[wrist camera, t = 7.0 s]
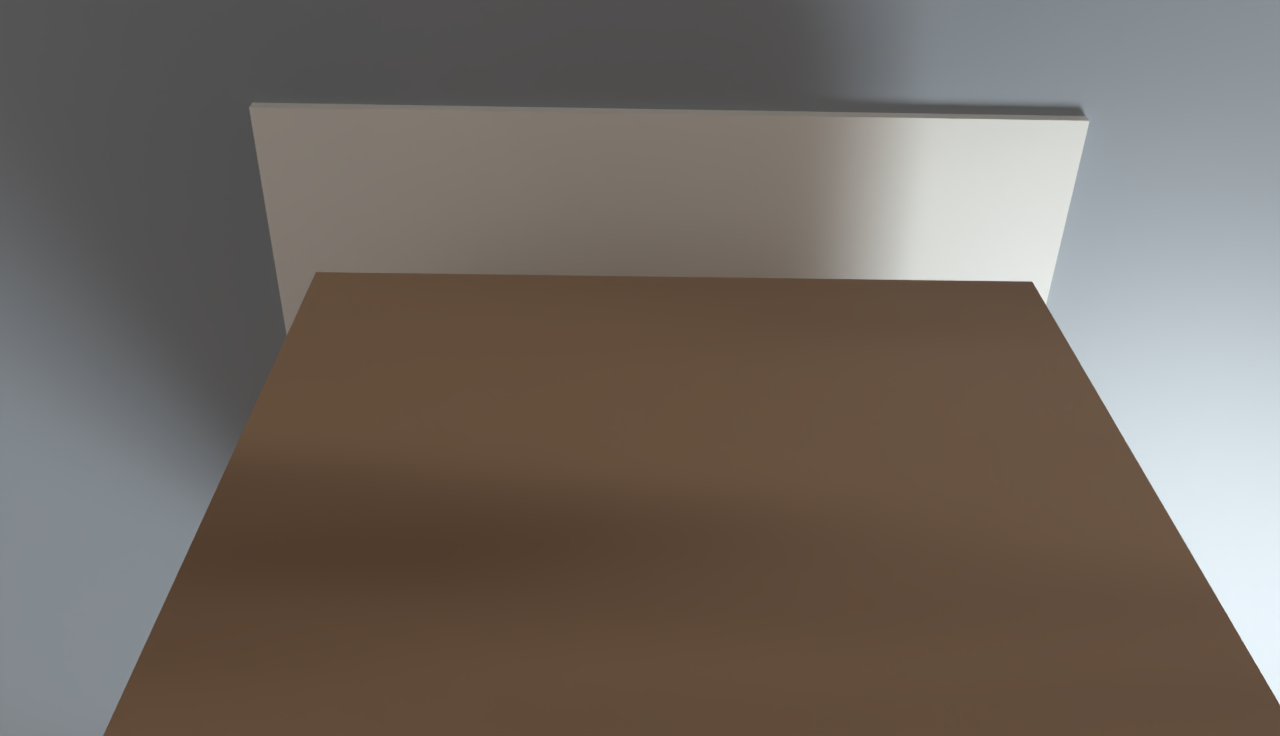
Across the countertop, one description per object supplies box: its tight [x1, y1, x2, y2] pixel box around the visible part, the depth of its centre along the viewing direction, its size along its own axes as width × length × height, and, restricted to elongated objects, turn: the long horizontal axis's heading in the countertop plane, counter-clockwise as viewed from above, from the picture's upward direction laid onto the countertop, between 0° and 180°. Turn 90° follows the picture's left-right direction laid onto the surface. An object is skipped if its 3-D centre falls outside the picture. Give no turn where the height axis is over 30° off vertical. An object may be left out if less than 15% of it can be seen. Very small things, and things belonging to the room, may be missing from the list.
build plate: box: [0, 0, 1280, 736], centre depth 11 cm, size 14×16×1 cm
